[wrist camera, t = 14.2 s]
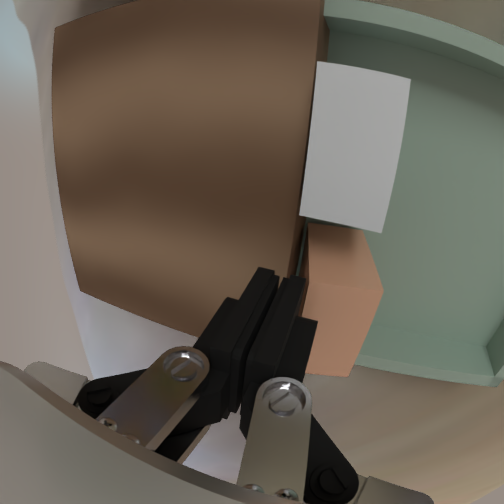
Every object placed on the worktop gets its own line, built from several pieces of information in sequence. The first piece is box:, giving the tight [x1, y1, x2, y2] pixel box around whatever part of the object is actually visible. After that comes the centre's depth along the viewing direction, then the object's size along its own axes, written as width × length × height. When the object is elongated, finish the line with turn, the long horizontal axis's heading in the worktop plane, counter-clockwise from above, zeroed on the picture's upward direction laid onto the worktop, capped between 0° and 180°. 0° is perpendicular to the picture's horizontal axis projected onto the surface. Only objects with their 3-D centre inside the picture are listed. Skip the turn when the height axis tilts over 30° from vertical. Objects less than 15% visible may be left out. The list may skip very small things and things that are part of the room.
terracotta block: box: [298, 222, 384, 377], centre depth 13 cm, size 4×4×2 cm
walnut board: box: [52, 0, 330, 337], centre depth 13 cm, size 15×12×4 cm
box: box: [296, 0, 504, 387], centre depth 11 cm, size 15×13×3 cm
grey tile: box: [299, 61, 411, 233], centre depth 10 cm, size 4×4×2 cm
